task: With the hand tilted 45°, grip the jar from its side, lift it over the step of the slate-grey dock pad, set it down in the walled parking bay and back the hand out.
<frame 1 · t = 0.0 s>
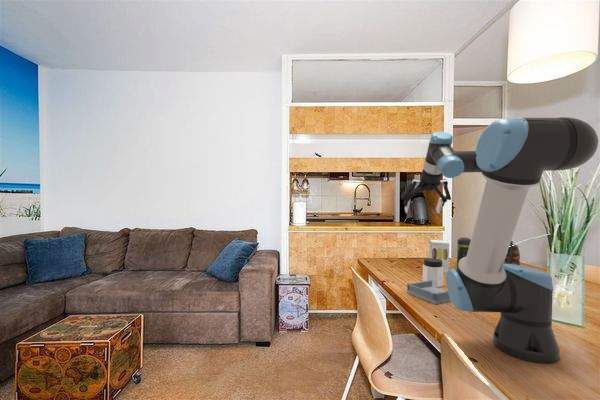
hand: (421, 211, 134), 36 cm above the table, tool tilted 35°, fingers open, 13 cm apart
dock bay: (432, 296, 130), on the table
supplement box: (438, 270, 173), on the table
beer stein: (506, 276, 162), on the table
jar: (432, 285, 146), on the table
coffee jar: (464, 270, 173), on the table
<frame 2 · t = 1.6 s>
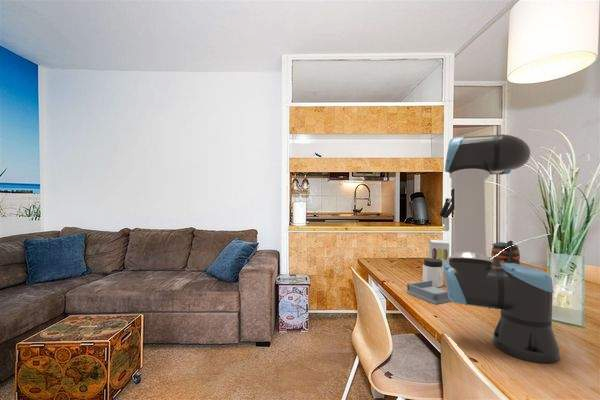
hand: (458, 232, 147), 25 cm above the table, tool pointing down, fingers open, 13 cm apart
nothing on the table moved.
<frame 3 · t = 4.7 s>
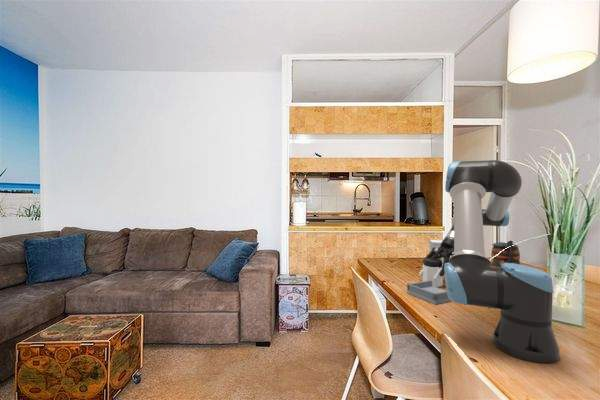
hand: (427, 278, 144), 4 cm above the table, tool tilted 45°, fingers open, 8 cm apart
jar: (432, 285, 146), on the table, touching gripper
everything else where it was.
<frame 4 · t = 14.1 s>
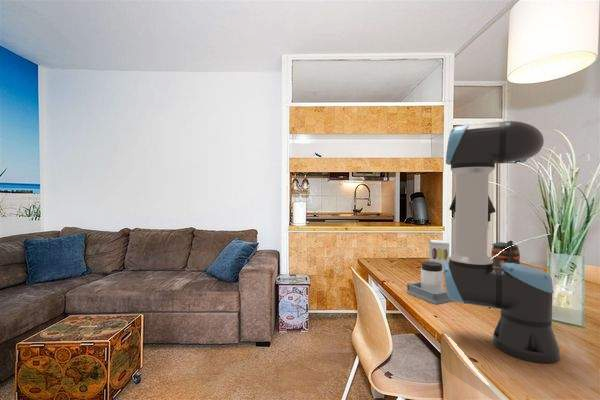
hand: (470, 227, 136), 29 cm above the table, tool pointing down, fingers open, 13 cm apart
jar: (431, 291, 132), point 1 cm above the table, touching dock bay
everything else where it was.
at the end: jar inside the target area on the dock bay (1.9 cm from its centre), point 1.3 cm above the dock bay's base; jar tilted 0°; the gripper is holding nothing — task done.
